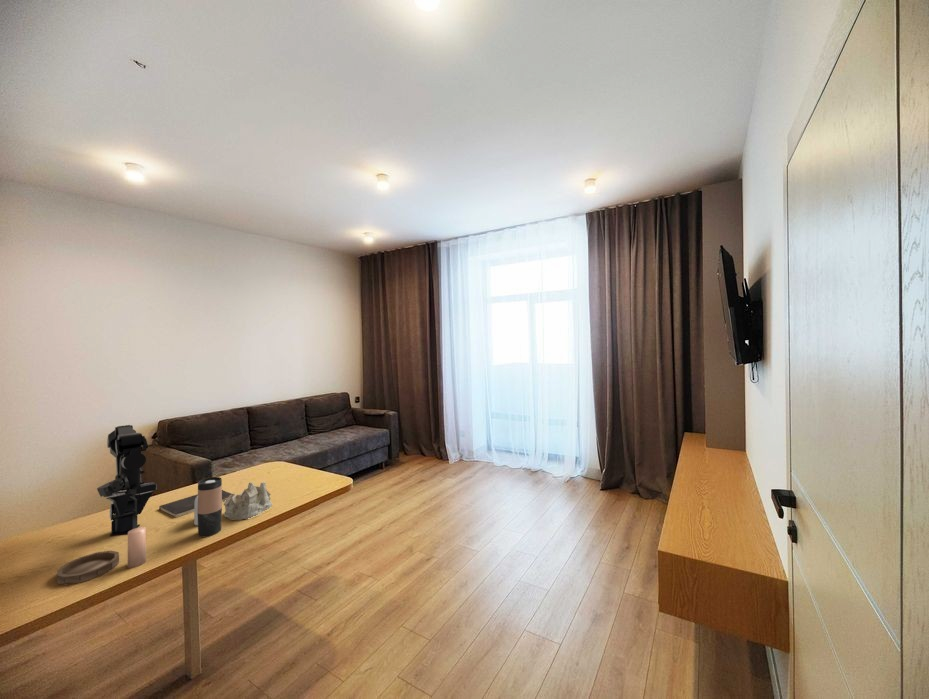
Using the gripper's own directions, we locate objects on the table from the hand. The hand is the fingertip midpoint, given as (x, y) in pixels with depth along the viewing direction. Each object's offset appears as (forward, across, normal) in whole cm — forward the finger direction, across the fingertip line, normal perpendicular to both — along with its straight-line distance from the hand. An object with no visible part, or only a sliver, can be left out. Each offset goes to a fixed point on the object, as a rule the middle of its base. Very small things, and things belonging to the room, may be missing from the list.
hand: (129, 514), depth 125 cm
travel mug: (+13, +14, +18) cm, 26 cm away
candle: (+14, +11, -4) cm, 18 cm away
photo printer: (+10, +2, +25) cm, 27 cm away
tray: (+13, +1, -11) cm, 17 cm away
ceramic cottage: (+11, +13, +36) cm, 40 cm away
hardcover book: (+6, -16, +35) cm, 39 cm away
